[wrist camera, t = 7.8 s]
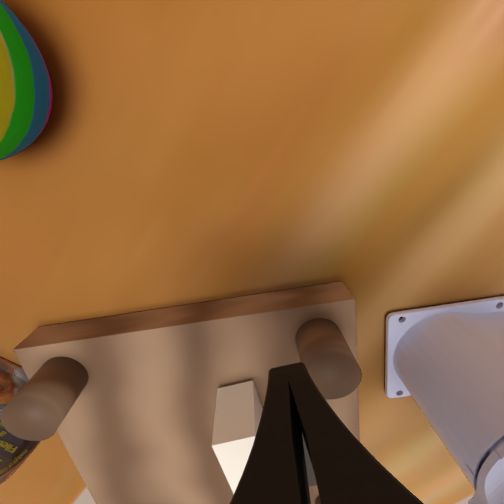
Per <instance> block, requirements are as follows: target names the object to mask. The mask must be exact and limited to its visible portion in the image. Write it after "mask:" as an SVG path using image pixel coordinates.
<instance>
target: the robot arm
mask: <svg viewBox="0 0 504 504" xmlns="http://www.w3.org/2000/svg"><path fill="white" fill-rule="evenodd" d="M400 317H402V319H400V320H399V318H400ZM385 393H386V395H387V396H388V397H389V398H398V397H405V396H412V397H413V399H414V400H415V402H416V403H417V405H418V406H419V408H420V409H421V411H422V412H423V414H424V415H425V417H426V418H427V420H428V421H429V423H430V424H431V426H432V427H433V429H434V430H435V432H436V433H437V435H438V436H439V438H440V439H441V440H442V442H443V443H444V445H445V446H446V448H447V449H448V451H449V452H450V454H451V455H452V457H453V458H454V460H455V461H456V463H457V464H458V466H459V467H460V469H461V470H462V472H463V473H464V475H465V476H466V478H467V479H468V481H469V482H470V483H471V485H472V486H473V488H474V489H475V491H476V492H475V494H474V496H473V497H472V498H471V499H470V500H469V502H468V503H469V504H504V296H500V297H493V298H487V299H480V300H473V301H466V302H459V303H453V304H446V305H439V306H432V307H426V308H419V309H412V310H405V311H398V312H392V313H390V314H388V315H387V317H386V361H385ZM302 434H303V437H304V441H305V444H306V447H307V450H308V454H309V457H310V460H311V464H312V467H313V470H314V474H315V478H316V483H317V487H318V492H319V497H320V502H321V504H424V503H422V502H421V501H420V500H419V499H418V498H417V497H416V496H414V495H413V494H412V493H411V492H410V491H409V490H408V489H407V488H406V487H405V486H403V485H402V484H401V483H400V482H399V481H398V480H397V479H396V478H395V477H394V476H393V475H392V474H391V473H390V472H389V471H387V470H386V469H385V468H384V467H383V466H382V465H381V464H380V463H379V462H378V461H377V460H376V459H375V458H374V457H373V456H372V455H371V454H370V453H369V452H368V450H367V449H366V448H365V447H364V446H363V445H362V444H361V443H360V442H359V441H358V440H357V439H356V437H355V436H354V435H353V434H352V433H351V432H350V430H349V429H348V428H347V427H346V426H345V424H344V423H343V422H342V421H341V420H340V418H339V417H338V416H337V415H336V413H335V412H334V411H333V409H332V408H331V407H330V405H329V404H328V403H327V401H326V400H325V398H324V397H323V396H322V394H321V393H320V391H319V390H318V388H317V386H316V385H315V383H314V382H313V380H312V378H311V376H310V375H309V373H308V371H307V368H306V366H305V364H304V363H302V362H298V363H294V364H289V365H285V366H280V367H276V368H271V369H270V370H269V372H268V384H267V391H266V396H265V402H264V406H263V410H262V415H261V419H260V423H259V426H258V429H257V433H256V436H255V440H254V443H253V446H252V449H251V452H250V455H249V458H248V461H247V463H246V466H245V468H244V471H243V474H242V476H241V479H240V481H239V483H238V486H237V488H236V490H235V493H234V495H233V497H232V500H231V502H230V504H311V500H310V492H309V484H308V476H307V468H306V460H305V453H304V445H303V437H302Z"/></svg>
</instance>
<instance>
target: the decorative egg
mask: <svg viewBox="0 0 504 504" xmlns="http://www.w3.org/2000/svg"><path fill="white" fill-rule="evenodd" d="M51 107H52V85H51V80H50V75H49V72H48V69H47V66H46V63H45V61H44V59H43V56H42V54H41V52H40V50H39V48H38V47H37V45H36V43H35V41H34V40H33V38H32V37H31V35H30V34H29V32H28V31H27V29H26V28H25V27H24V25H23V24H22V23H21V22H20V20H19V19H18V18H17V17H16V15H15V14H14V13H13V12H12V11H11V10H10V9H9V7H8V6H7V5H6V4H5V3H4V2H3V1H2V0H0V160H2V159H5V158H8V157H11V156H13V155H15V154H17V153H19V152H20V151H22V150H23V149H25V148H26V147H28V146H29V145H30V144H31V143H33V142H34V141H35V140H36V138H37V137H38V136H39V135H40V134H41V132H42V131H43V129H44V128H45V126H46V124H47V121H48V119H49V116H50V112H51Z"/></svg>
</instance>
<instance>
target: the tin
mask: <svg viewBox="0 0 504 504" xmlns="http://www.w3.org/2000/svg"><path fill="white" fill-rule="evenodd" d="M28 381H29V379H28V377H27V375H26V373H25V372H24V370H23V368H22V366H20V365H17V364H15V363H13V362H11V361H8V360H6V359H4V358H1V357H0V414H1V411H2V410H3V408H4V407H5V406H6V405H7V404H8V403H9V402H10V400H11V399H12V398H13V397H14V396H15V395H16V394H17V393H18V392H19V391H20V390H21V388H22V387H23V386H24V385H25V384H26V383H27V382H28ZM39 442H40V441H29V440H24V439H21V438H18V437H16V436H14V435H12V434H11V433H9V432H8V431H7V430H6V429H5V428H4V426H3V425H2V423H1V419H0V484H2V483H3V482H4V481H6V480H7V479H8V478H9V477H10V476H11V475H12V474H13V473H14V472H15V471H16V470H17V469H18V468H19V467H20V466H21V465H22V463H23V462H24V461H25V460H26V458H27V457H28V456H29V455H30V454H31V453H32V452H33V450H34V449H35V448H36V446H37V445H38V444H39Z"/></svg>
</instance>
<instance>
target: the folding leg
mask: <svg viewBox="0 0 504 504" xmlns="http://www.w3.org/2000/svg"><path fill="white" fill-rule="evenodd" d="M262 410H263V408H262V405H261V403H260V400H259V397H258V394H257V391H256V388H255V385H254V382H253V380H252V381H248V382H244V383H239V384H235V385H231V386H227V387H222V388H218V389H217V399H216V408H215V418H214V428H213V437H212V448H213V450H214V452H215V454H216V456H217V459H218V461H219V463H220V465H221V467H222V470H223V472H224V474H225V476H226V478H227V481H228V483H229V485H230V487H231V489H232V491H233V494H234V493H235V490H236V488H237V486H238V483H239V481H240V479H241V476H242V474H243V471H244V468H245V466H246V463H247V461H248V458H249V455H250V452H251V449H252V446H253V443H254V440H255V436H256V433H257V429H258V426H259V423H260V419H261V415H262Z"/></svg>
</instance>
